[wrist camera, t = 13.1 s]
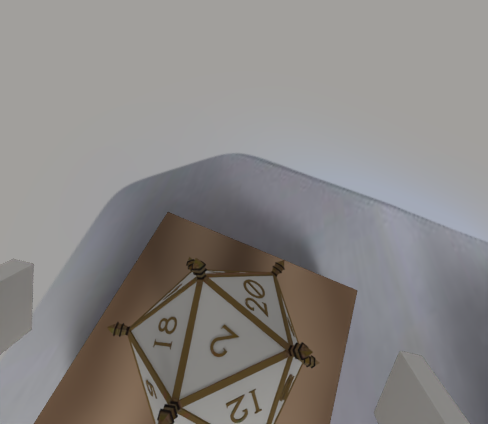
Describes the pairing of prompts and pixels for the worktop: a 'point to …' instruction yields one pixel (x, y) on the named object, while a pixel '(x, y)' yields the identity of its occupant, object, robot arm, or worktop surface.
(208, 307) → the game die
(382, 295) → the worktop surface
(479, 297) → the worktop surface
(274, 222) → the worktop surface
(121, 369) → the walnut block
